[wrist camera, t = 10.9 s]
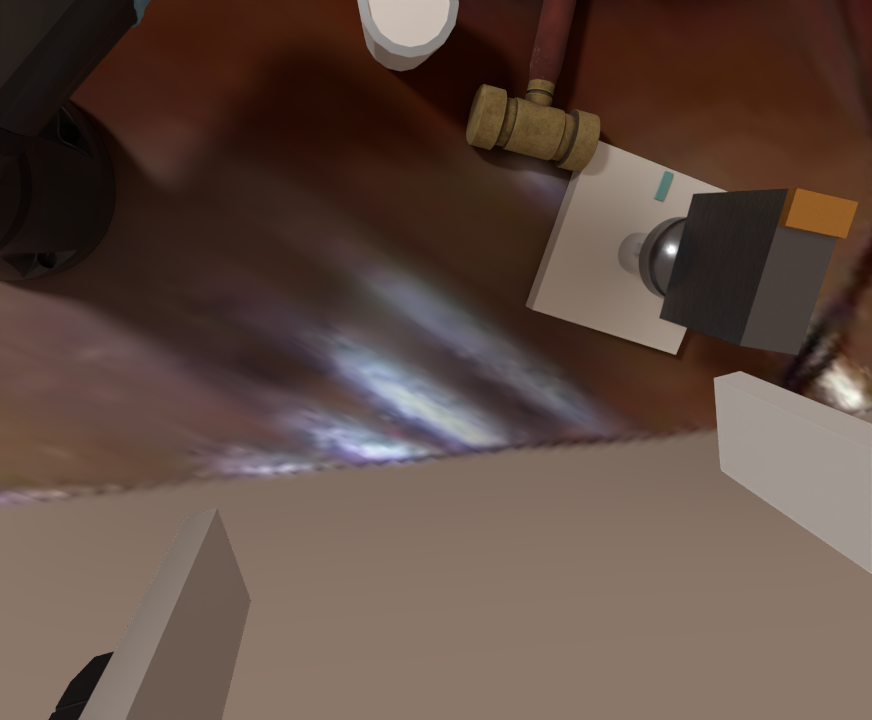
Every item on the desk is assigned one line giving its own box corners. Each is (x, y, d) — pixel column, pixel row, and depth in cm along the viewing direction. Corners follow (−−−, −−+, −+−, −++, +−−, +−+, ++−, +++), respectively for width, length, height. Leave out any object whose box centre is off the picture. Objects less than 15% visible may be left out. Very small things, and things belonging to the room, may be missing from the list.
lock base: (525, 306, 52) (556, 322, 44) (583, 141, 49) (627, 128, 41) (664, 349, 55) (715, 372, 47) (727, 197, 52) (792, 195, 45)
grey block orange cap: (697, 321, 46) (822, 360, 34) (625, 309, 44) (728, 345, 32) (729, 207, 44) (876, 206, 32) (655, 191, 42) (778, 183, 30)
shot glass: (421, -32, 44) (435, -76, 37) (455, 59, 46) (474, 33, 39) (340, 3, 44) (339, -35, 37) (377, 93, 46) (383, 73, 39)
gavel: (535, -166, 40) (660, -119, 42) (516, -124, 45) (630, -84, 47) (474, 138, 43) (593, 168, 45) (462, 148, 48) (570, 175, 50)
